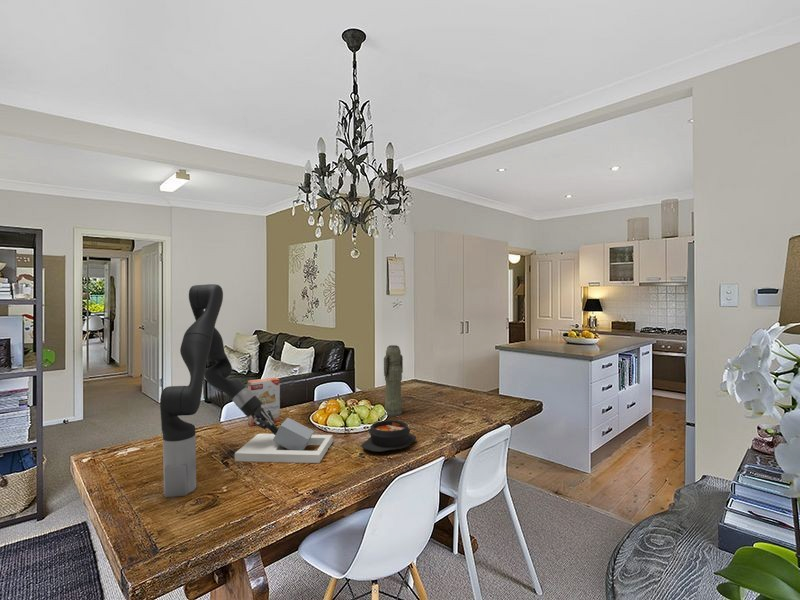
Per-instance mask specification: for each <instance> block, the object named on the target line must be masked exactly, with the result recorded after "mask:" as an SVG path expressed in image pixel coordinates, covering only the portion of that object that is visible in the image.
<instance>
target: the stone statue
mask: <svg viewBox="0 0 800 600" xmlns="http://www.w3.org/2000/svg"><path fill="white" fill-rule="evenodd" d="M401 353H402V352H401V348H400V346H399V345H397V344H395V345H393V344H392V345H388V346H387V347H386V350H385V355H384V357H383V376H384V381H385V400H384V409H385V410H386V412H387V414H388V415H387V416H390V417H394V416H395V417H397V416H401V415H402V413H403V412H402V410H403V399H402V380H403V372H404V371H403V369H404V367H403V365H404V364H403V360H404V359H403V355H402V354H401Z"/></svg>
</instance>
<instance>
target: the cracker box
mask: <svg viewBox="0 0 800 600" xmlns="http://www.w3.org/2000/svg"><path fill="white" fill-rule="evenodd" d="M280 381H281V380H280V379H279V378H278V377H276V376H275V377H268V378H260V379H251V380H247V388H248V389H249V390H250V391H251V392H252V393H253V394H254V395H255V396H256V397H257V398H258V399H259V400H260V401H261V402H262V405H261V407H262V408H263V409H265V411H268V410H270V412H271V414H272V416H273V418H274V423H277V422H280V419H281V418H280V417H281V415H280V412H281V407H280V406H281V404H280V403H281V400H280V399H281V394H280V393H281V392H280V391H281V390H280V389H281V388H280V387H281V382H280ZM254 421H255V419H253V418H252V416H249V417H247V424H248V425H250V427H254V426H255V425H254V423H253V422H254Z"/></svg>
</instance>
